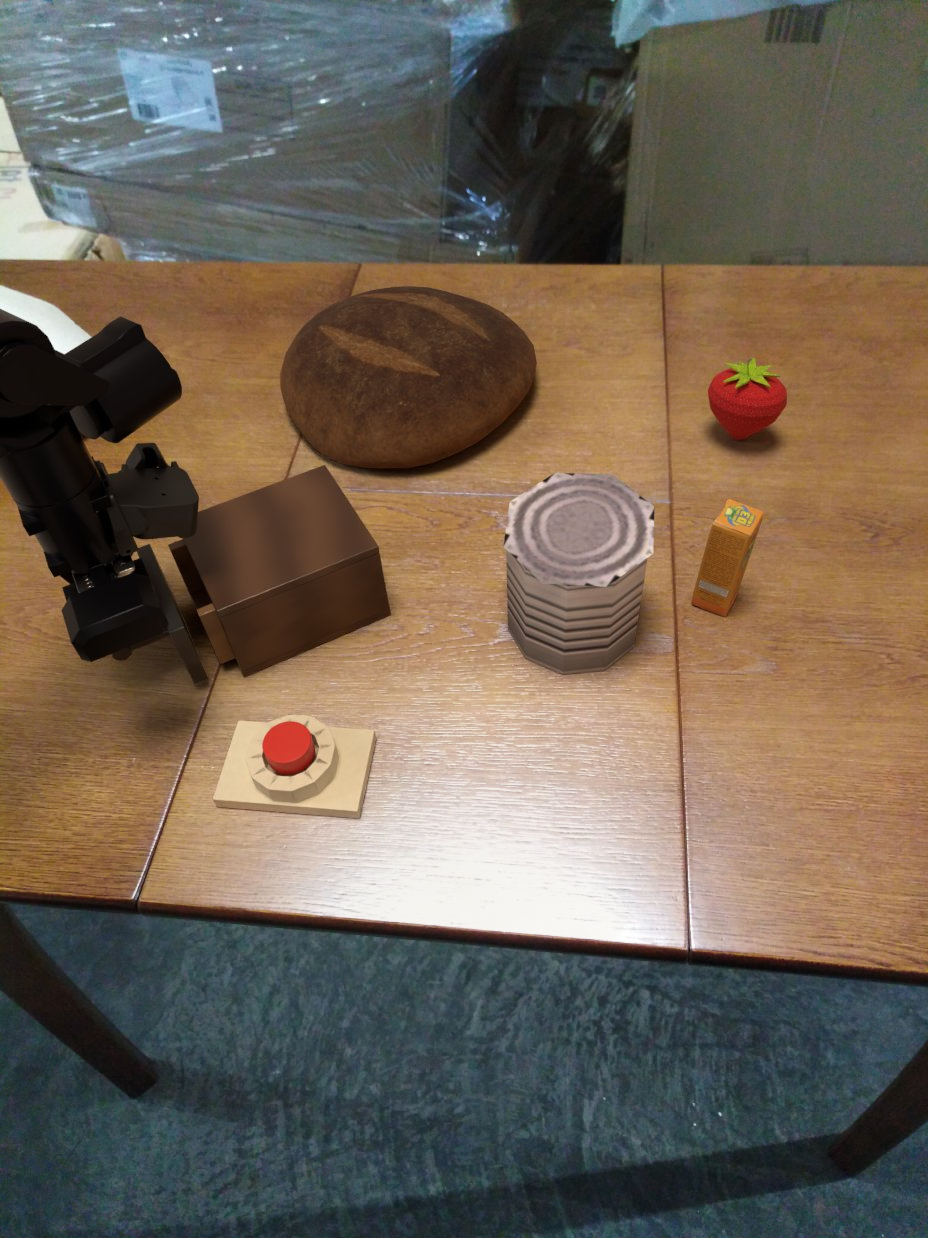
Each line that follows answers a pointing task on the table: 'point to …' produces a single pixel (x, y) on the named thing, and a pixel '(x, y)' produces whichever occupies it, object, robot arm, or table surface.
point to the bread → (404, 376)
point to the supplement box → (726, 557)
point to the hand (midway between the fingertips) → (131, 624)
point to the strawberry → (746, 398)
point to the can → (576, 570)
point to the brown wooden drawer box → (288, 568)
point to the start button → (288, 747)
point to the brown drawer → (174, 615)
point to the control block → (315, 790)
